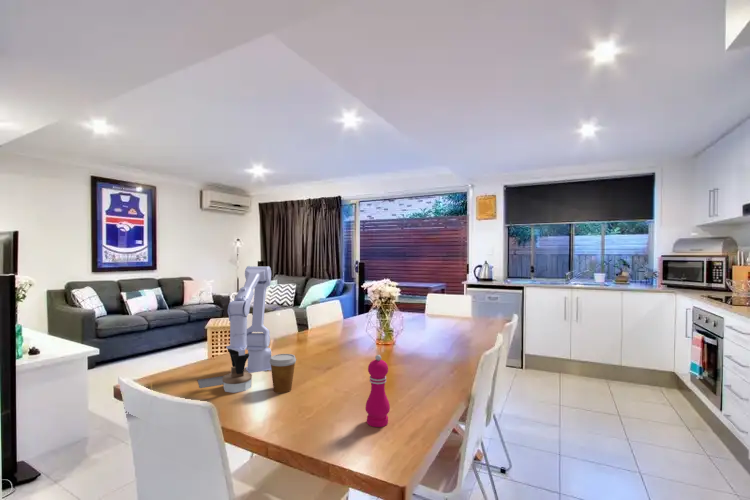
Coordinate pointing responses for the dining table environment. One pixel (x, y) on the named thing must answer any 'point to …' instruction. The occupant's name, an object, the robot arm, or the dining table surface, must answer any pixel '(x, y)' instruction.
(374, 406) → the pepper mill
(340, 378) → the dining table surface
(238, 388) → the bowl
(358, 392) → the dining table surface
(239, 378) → the lid
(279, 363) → the disposable coffee cup
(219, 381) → the mat
